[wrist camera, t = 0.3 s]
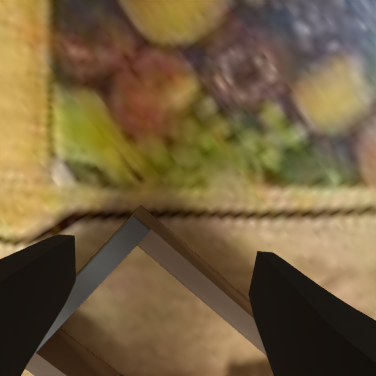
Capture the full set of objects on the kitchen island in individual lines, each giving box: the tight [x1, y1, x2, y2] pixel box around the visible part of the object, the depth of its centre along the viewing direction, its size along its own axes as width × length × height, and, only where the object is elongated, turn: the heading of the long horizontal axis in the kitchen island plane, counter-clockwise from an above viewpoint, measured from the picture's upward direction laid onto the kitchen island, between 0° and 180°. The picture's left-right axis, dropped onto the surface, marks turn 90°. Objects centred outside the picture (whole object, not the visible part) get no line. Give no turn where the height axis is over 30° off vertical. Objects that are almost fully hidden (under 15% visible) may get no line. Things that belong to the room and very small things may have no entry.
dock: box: [25, 206, 267, 376], centre depth 20 cm, size 14×16×4 cm
